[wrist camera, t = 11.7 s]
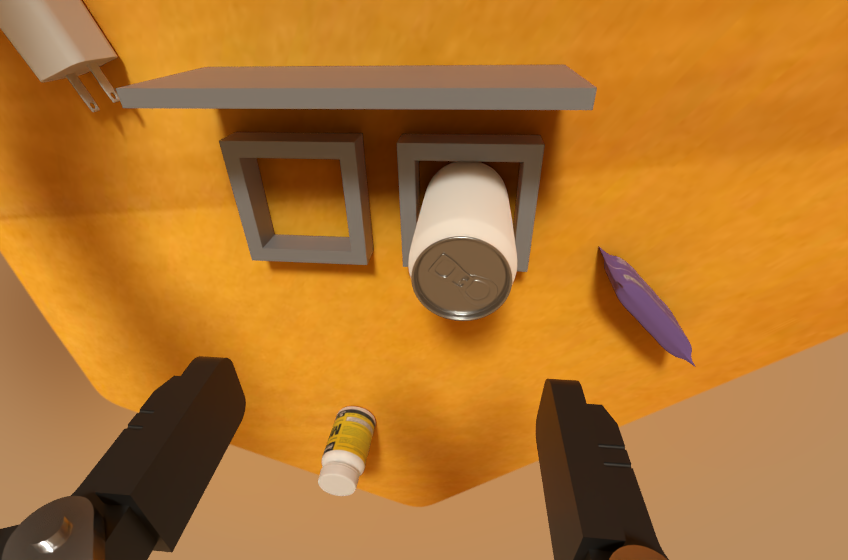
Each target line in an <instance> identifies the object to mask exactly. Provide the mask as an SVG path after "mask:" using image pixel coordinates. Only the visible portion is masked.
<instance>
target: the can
mask: <svg viewBox="0 0 848 560" xmlns="http://www.w3.org/2000/svg"><path fill="white" fill-rule="evenodd" d="M408 266H409V273H410V276H411V280H412V286H413V290H414V292H415V294H416V296H417V298H418V299H419V301H420V302H421V303H422V304H423V305H424V306H425V307H426V308H427V309H428V310H430V311H431V312H433V313H434V314H436V315H438V316H440V317H443V318H446V319H450V320H456V321H469V320H476V319H479V318H483V317H485V316H487V315H489V314H491V313H493V312H494V311H496V310H497V309H498V308H499V307H500V306H501V305H502V304H503V303H504V302H505V301H506V299H507V297H508V295H509V293H510V291H511V287H512V284H513V282H514V279H515V276H516V272H517V252H516V245H515V238H514V231H513V224H512V218H511V211H510V205H509V199H508V194H507V189H506V186H505V184H504V182H503V180H502V178H501V177H500V175H499V174H498V173H497V172H496V171H495V170H494V169H492V168H491V167H489V166H488V165H486V164H484V163H481V162H476V161H456V162H453V163H450V164H448V165H446V166H444V167H443V168H441V169H440V170H439V171H438V172H437V173H436V174H435V175H434V176H433V178H432V179H431V181H430V183H429V185H428V187H427V190H426V193H425V196H424V200H423V204H422V207H421V211H420V214H419V218H418V222H417V225H416V229H415V233H414V236H413V240H412V244H411V248H410V253H409V262H408Z"/></svg>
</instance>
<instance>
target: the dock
mask: <svg viewBox="0 0 848 560" xmlns="http://www.w3.org/2000/svg"><path fill="white" fill-rule="evenodd" d="M115 89H116V91H117V94H118V96H119V99H120V102H121V104H122V107H123V108H217V109H464V110H593V105H594V100H595V95H596V89H597V88H596V87H595V86H594V85H592V84H591V83H589V82H588V81H587V80H585V79H584V78H582V77H581V76H580V75H578V74H577V73H576V72H574V71H573V70H571V69H570V68H569V67H567V66H566V65H455V66H298V67H204V68H200V69H195V70H191V71H187V72H183V73H178V74H174V75H170V76H166V77H161V78H157V79H153V80H149V81H145V82H140V83H136V84H132V85H128V86H123V87H119V88H115ZM219 143H220V147H221V150H222V154H223V157H224V161H225V165H226V168H227V172H228V175H229V179H230V182H231V186H232V190H233V193H234V197H235V200H236V204H237V207H238V211H239V215H240V218H241V222H242V225H243V229H244V232H245V236H246V240H247V243H248V247H249V250H250V254H251V257H252V260H260V261H284V262H307V263H331V264H355V265H368V262H369V260H370V258H371V255H372V253H373V251H374V249H373V239H372V228H371V218H370V207H369V197H368V186H367V176H366V165H365V155H364V144H363V134H362V133H288V132H234V133H233V134H231V135H229V136H227V137H225V138H223V139H221V140H219ZM544 146H545V144H544V142H543V140H542V138H541V136H540V135H489V134H402V135H401V136H400V138H399V140H398V142H397V159H398V178H399V197H400V216H401V235H402V254H403V267H409V266H408V262H409V253H410V248H411V244H412V240H413V236H414V233H415V229H416V225H417V222H418V218H419V214H420V186H419V161H476V162H520V168H519V177H518V186H517V196H516V205H515V214H514V223H513V231H514V238H515V245H516V252H517V271H522V272H527V269H528V262H529V255H530V248H531V240H532V233H533V226H534V219H535V211H536V204H537V197H538V190H539V182H540V175H541V168H542V160H543V153H544ZM257 158H293V159H340V166H341V174H342V181H343V189H344V197H345V205H346V212H347V220H348V228H349V236H350V237H327V236H299V235H275V234H274V230H273V226H272V222H271V217H270V213H269V209H268V205H267V201H266V196H265V192H264V188H263V184H262V179H261V175H260V171H259V167H258V163H257Z"/></svg>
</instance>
